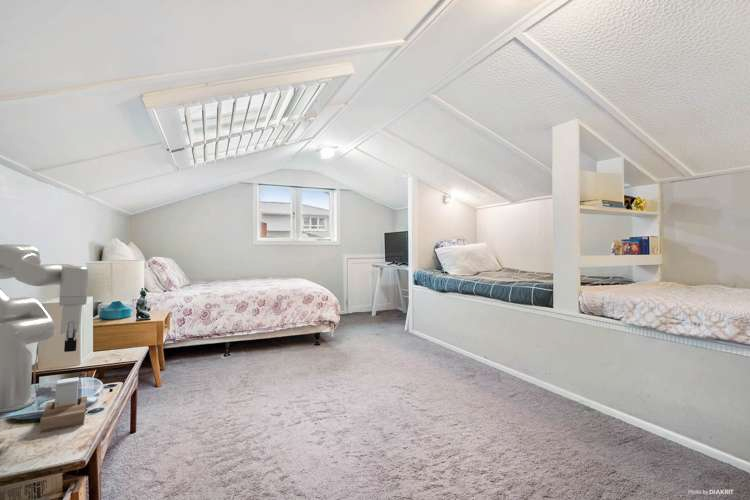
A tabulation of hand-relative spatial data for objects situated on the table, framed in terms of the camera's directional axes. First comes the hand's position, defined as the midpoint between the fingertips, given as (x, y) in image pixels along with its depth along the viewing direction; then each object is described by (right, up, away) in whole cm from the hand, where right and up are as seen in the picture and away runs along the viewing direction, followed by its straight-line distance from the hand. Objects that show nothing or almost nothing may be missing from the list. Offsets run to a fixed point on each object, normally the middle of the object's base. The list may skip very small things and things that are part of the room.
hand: (70, 350), depth 126 cm
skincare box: (-1, -22, -1) cm, 22 cm away
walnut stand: (+1, -23, -3) cm, 24 cm away
